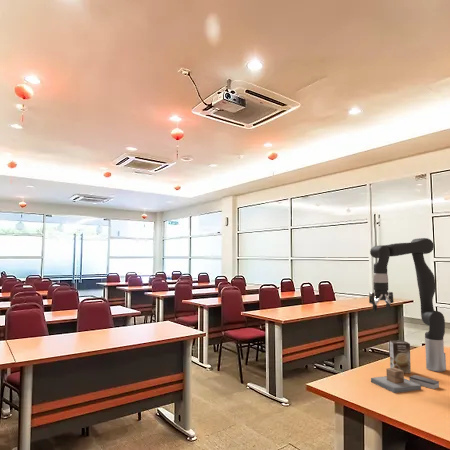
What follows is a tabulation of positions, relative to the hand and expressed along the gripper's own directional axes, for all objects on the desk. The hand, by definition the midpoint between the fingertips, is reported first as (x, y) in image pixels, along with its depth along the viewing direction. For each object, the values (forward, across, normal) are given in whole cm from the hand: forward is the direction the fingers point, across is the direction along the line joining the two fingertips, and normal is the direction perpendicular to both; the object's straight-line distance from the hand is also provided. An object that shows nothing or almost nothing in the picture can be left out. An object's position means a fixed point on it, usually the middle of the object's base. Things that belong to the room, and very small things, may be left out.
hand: (381, 311), depth 201 cm
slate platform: (+34, +6, +15) cm, 38 cm away
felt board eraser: (+34, -9, +18) cm, 40 cm away
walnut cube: (+32, +6, +15) cm, 36 cm away
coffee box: (+34, -14, -3) cm, 37 cm away
